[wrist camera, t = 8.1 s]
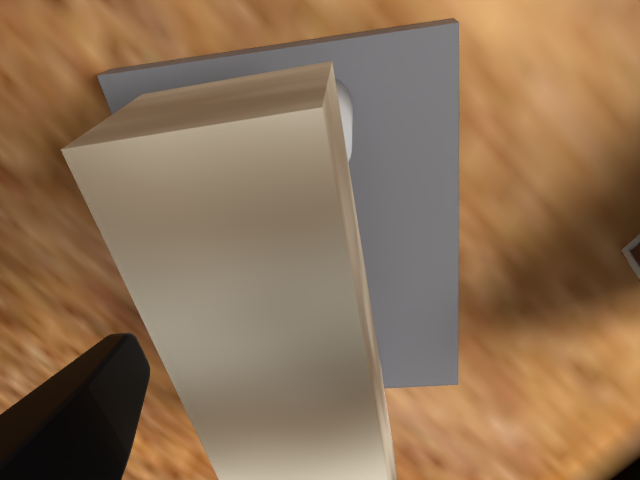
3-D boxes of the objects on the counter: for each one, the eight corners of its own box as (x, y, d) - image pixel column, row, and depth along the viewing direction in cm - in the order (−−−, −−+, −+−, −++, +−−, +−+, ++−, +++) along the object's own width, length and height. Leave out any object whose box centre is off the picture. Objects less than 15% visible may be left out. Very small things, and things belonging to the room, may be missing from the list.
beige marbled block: (395, 461, 20) (403, 569, 16) (278, 467, 20) (262, 571, 17) (331, 60, 12) (321, 107, 8) (142, 94, 12) (60, 149, 9)
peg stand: (453, 18, 15) (490, 44, 11) (454, 368, 24) (476, 461, 19) (109, 69, 17) (27, 109, 13) (222, 381, 25) (194, 469, 21)
